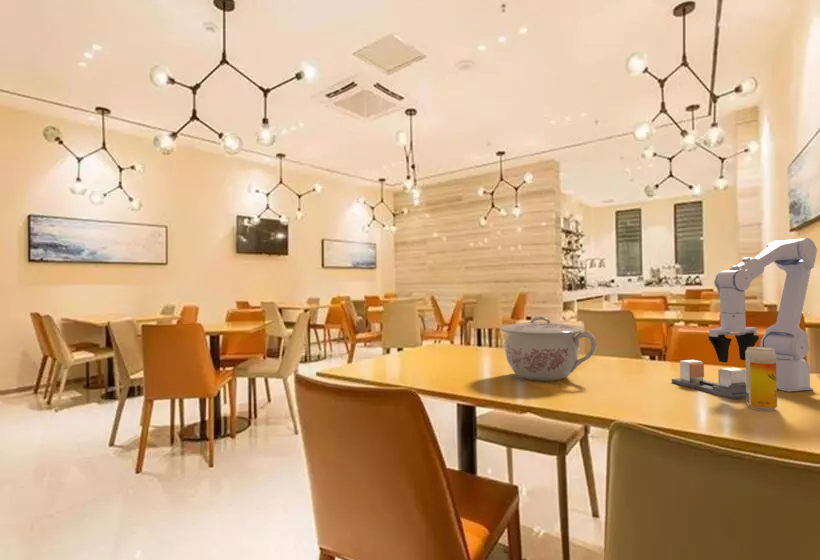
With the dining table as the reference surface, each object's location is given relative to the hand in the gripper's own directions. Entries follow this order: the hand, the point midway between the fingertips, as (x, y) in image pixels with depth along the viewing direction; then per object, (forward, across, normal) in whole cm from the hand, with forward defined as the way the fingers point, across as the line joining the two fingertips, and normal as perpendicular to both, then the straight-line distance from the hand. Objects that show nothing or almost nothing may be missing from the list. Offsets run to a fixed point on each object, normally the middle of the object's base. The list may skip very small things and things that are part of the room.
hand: (734, 361), depth 127 cm
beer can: (+10, +6, +13) cm, 17 cm away
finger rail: (+9, +1, -6) cm, 11 cm away
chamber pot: (+9, +39, -36) cm, 54 cm away
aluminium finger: (+8, +1, +1) cm, 8 cm away
